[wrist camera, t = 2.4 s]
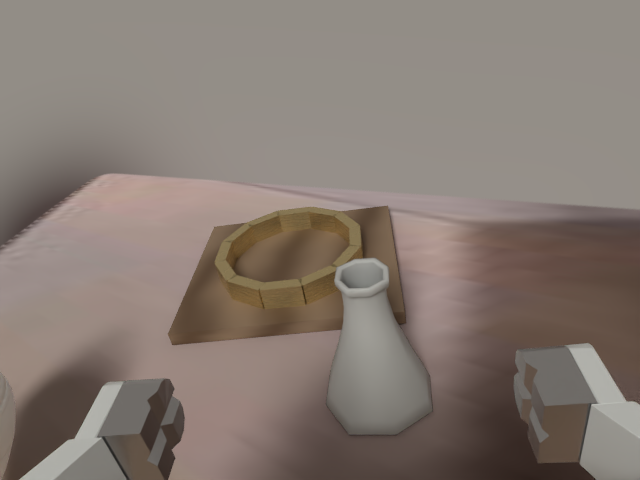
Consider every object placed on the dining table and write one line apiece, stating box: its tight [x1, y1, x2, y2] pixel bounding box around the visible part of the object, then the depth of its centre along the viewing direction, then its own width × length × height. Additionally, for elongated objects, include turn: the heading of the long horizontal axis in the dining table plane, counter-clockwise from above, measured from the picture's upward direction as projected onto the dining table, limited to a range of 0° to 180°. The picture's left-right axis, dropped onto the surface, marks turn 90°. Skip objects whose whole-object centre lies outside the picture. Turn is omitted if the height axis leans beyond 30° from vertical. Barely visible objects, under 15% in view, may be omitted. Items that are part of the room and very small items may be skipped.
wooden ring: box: [214, 207, 363, 309], centre depth 46 cm, size 13×13×2 cm
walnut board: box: [168, 206, 406, 345], centre depth 46 cm, size 19×17×1 cm
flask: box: [326, 258, 433, 435], centre depth 31 cm, size 7×7×10 cm
